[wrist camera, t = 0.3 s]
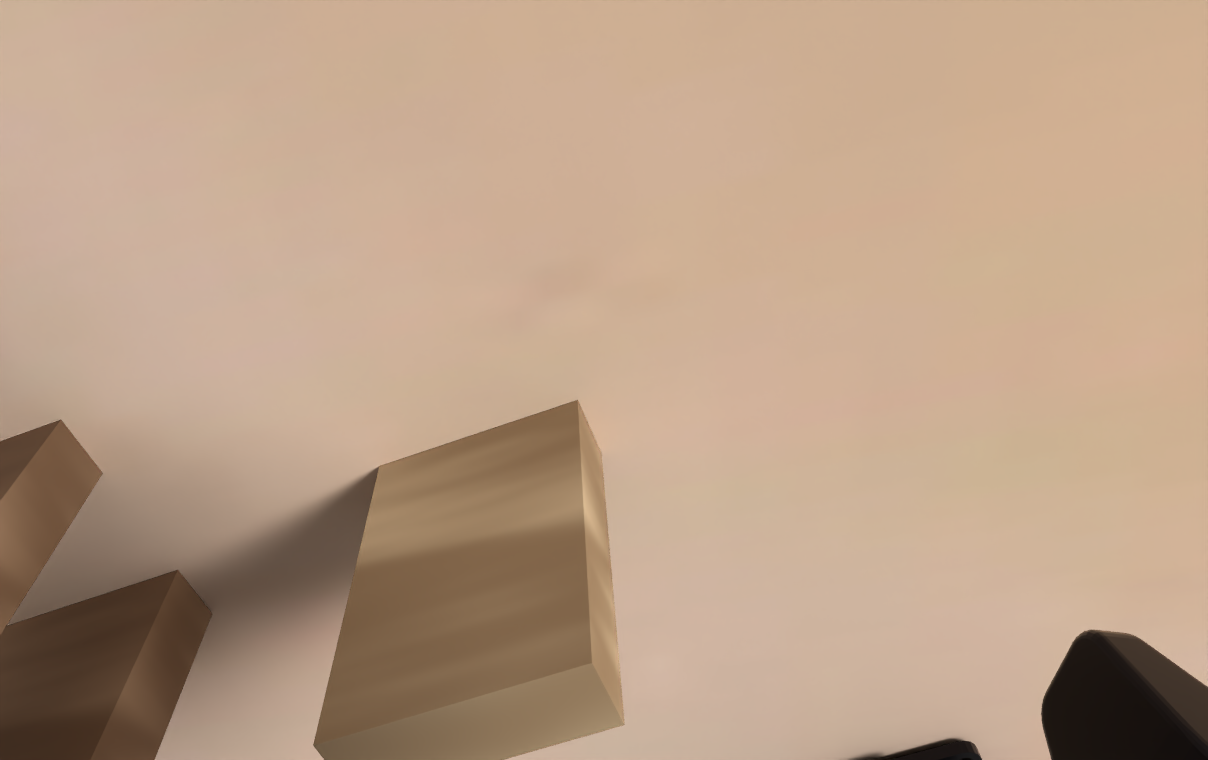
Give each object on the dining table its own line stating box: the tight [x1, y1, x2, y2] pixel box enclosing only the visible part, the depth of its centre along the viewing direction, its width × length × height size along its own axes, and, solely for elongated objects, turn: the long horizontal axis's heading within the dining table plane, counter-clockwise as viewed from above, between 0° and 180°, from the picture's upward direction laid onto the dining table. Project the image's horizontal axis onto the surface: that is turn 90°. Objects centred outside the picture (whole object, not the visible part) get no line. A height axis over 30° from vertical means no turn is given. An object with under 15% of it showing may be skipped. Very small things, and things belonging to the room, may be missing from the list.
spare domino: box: [313, 400, 624, 760], centre depth 21 cm, size 2×5×8 cm, turn 110°
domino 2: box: [0, 570, 212, 760], centre depth 22 cm, size 2×5×8 cm, turn 110°
